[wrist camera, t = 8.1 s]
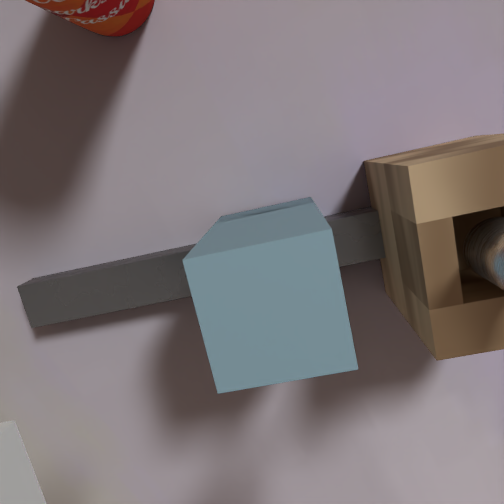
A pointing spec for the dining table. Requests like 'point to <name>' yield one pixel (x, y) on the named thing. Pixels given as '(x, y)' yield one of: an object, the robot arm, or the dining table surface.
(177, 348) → the dining table surface
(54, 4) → the paper cup
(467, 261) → the plunger
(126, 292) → the rail
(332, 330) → the block
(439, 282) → the housing
